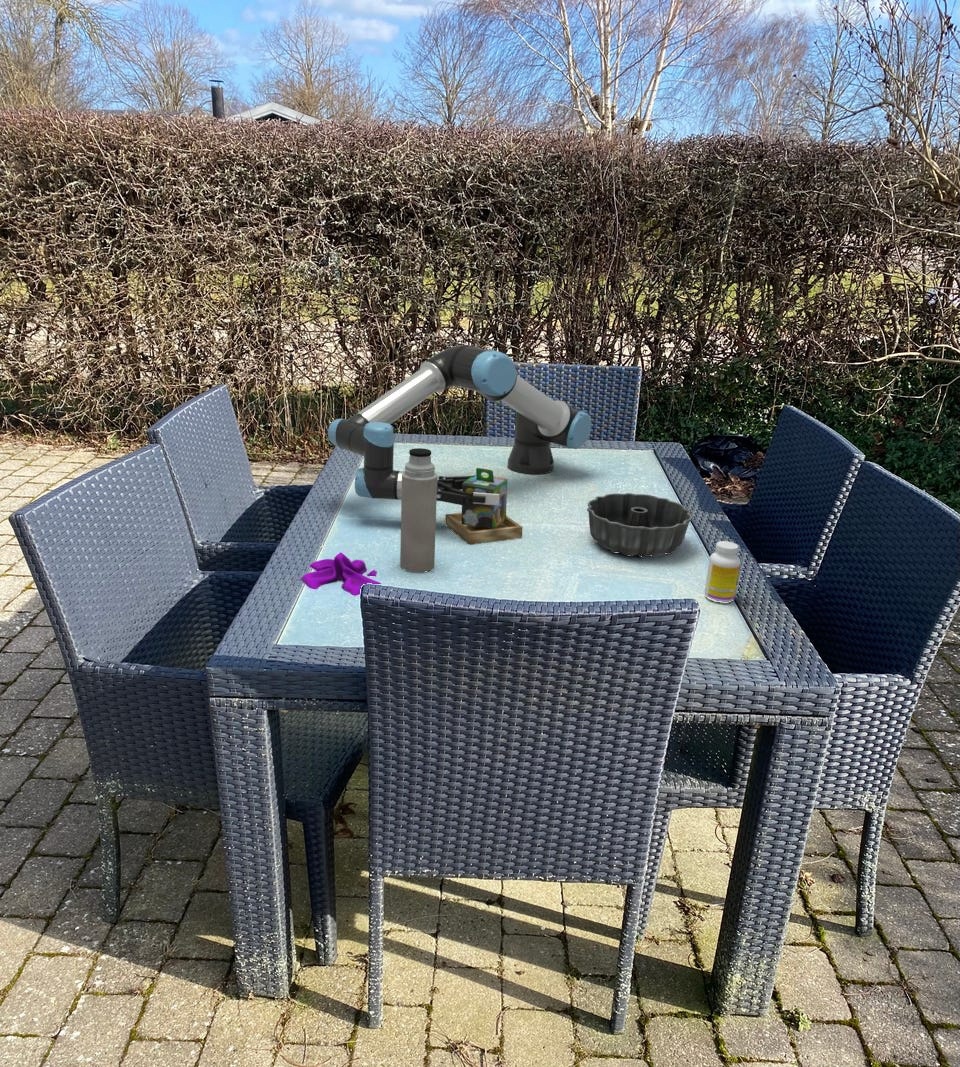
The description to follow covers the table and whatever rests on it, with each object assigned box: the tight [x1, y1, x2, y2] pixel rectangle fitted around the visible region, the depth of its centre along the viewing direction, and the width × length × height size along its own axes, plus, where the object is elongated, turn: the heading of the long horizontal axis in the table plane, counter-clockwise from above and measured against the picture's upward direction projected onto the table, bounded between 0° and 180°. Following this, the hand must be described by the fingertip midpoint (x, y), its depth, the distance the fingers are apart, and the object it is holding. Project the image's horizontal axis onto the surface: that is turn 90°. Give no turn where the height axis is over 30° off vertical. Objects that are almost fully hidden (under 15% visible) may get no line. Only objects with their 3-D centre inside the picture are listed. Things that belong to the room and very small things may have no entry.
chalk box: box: [461, 467, 508, 530], centre depth 229 cm, size 9×9×15 cm
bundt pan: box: [586, 492, 693, 558], centre depth 227 cm, size 26×26×10 cm
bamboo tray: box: [444, 512, 524, 545], centre depth 232 cm, size 15×15×3 cm
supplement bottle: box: [704, 540, 741, 602], centre depth 197 cm, size 7×7×13 cm
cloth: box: [301, 552, 382, 596], centre depth 201 cm, size 22×19×6 cm
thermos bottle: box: [399, 447, 438, 573], centre depth 203 cm, size 8×8×28 cm
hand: (500, 492), depth 229 cm, fingers closed on chalk box, 11 cm apart
